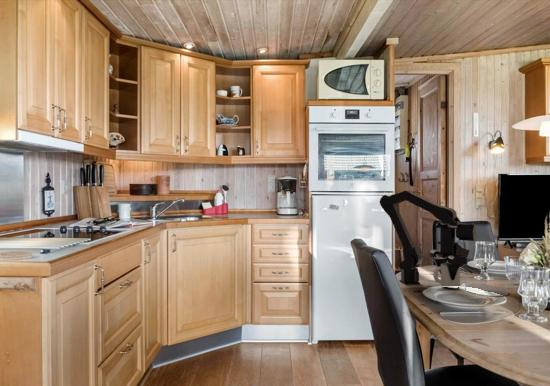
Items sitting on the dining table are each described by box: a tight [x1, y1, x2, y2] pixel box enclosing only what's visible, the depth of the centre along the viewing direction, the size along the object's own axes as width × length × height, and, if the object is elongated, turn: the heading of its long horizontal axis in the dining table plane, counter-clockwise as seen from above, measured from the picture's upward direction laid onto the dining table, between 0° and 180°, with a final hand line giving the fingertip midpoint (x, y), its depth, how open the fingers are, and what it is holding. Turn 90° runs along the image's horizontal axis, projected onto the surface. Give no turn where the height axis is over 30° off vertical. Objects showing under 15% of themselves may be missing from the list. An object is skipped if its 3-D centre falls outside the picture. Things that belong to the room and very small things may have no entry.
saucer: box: [465, 284, 509, 297], centre depth 160 cm, size 15×15×1 cm
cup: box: [433, 262, 461, 287], centre depth 166 cm, size 7×10×9 cm
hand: (447, 278), depth 166 cm, fingers closed on cup, 7 cm apart
